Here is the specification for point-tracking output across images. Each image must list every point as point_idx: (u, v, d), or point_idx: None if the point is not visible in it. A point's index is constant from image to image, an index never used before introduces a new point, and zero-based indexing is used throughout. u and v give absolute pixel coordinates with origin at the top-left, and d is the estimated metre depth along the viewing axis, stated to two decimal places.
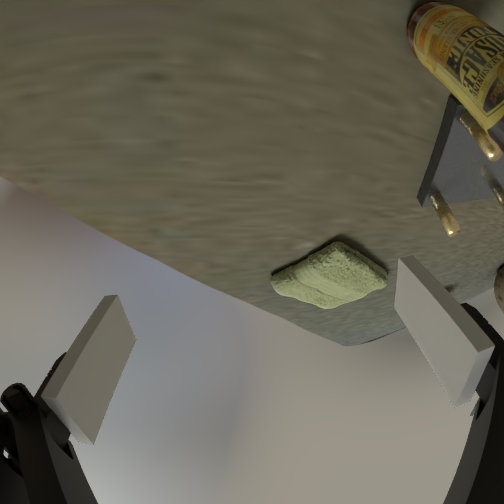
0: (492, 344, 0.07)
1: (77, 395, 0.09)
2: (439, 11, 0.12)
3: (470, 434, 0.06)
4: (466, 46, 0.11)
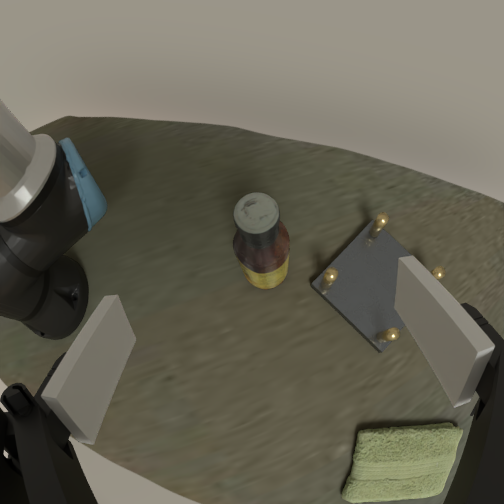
0: (492, 344, 0.07)
1: (77, 396, 0.09)
2: None
3: (470, 434, 0.06)
4: None
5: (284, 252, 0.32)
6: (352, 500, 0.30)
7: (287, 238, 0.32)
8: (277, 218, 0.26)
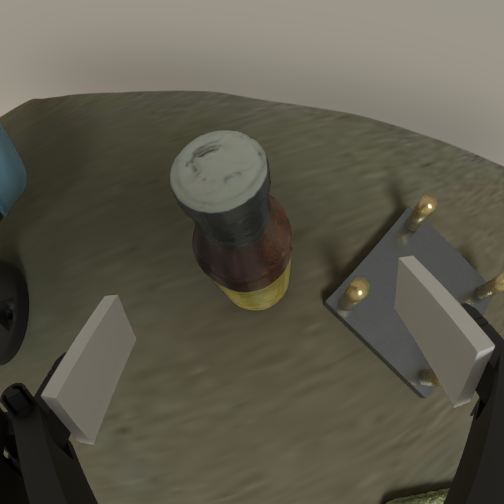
0: (492, 344, 0.07)
1: (77, 396, 0.09)
2: None
3: (470, 434, 0.06)
4: None
5: (282, 255, 0.17)
6: None
7: (287, 229, 0.18)
8: (263, 178, 0.12)
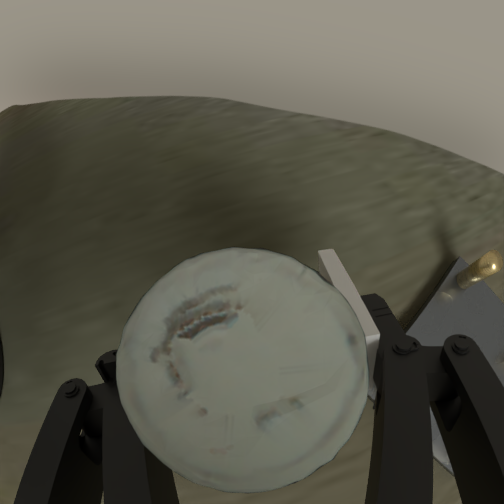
0: (377, 332, 0.09)
1: None
2: None
3: (374, 430, 0.08)
4: None
5: None
6: None
7: None
8: (359, 412, 0.04)
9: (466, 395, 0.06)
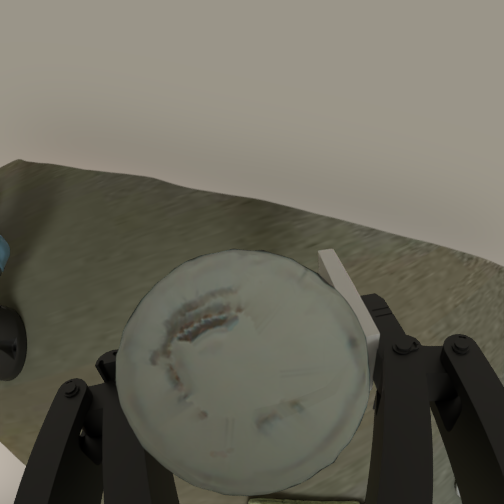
0: (377, 332, 0.09)
1: None
2: None
3: (374, 430, 0.08)
4: None
5: None
6: None
7: None
8: (360, 415, 0.04)
9: (466, 395, 0.06)
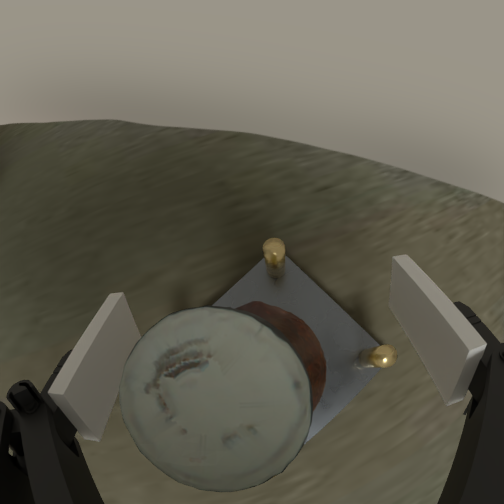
0: (484, 342, 0.07)
1: (84, 392, 0.09)
2: None
3: (463, 433, 0.06)
4: None
5: (313, 410, 0.11)
6: None
7: (323, 377, 0.11)
8: (302, 439, 0.05)
9: None
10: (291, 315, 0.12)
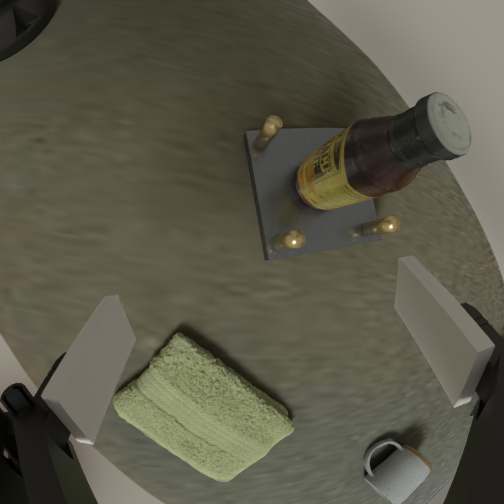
0: (492, 344, 0.07)
1: (77, 396, 0.09)
2: (308, 156, 0.30)
3: (470, 434, 0.06)
4: (320, 152, 0.26)
5: (402, 187, 0.21)
6: (120, 412, 0.27)
7: None
8: (466, 151, 0.14)
9: None
10: None
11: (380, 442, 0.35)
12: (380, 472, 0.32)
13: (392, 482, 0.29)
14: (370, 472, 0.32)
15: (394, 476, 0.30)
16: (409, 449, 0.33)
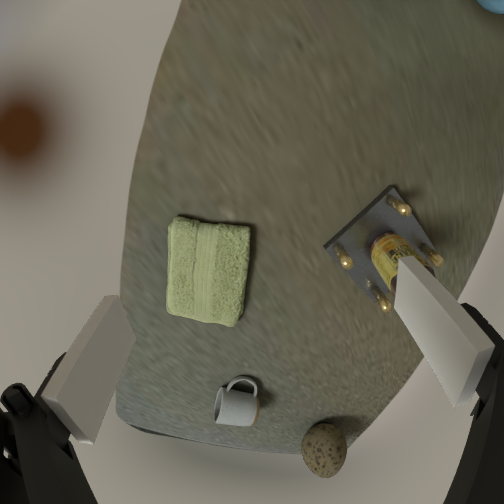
0: (492, 344, 0.07)
1: (77, 395, 0.09)
2: (398, 237, 0.42)
3: (470, 434, 0.06)
4: (402, 248, 0.38)
5: None
6: (173, 229, 0.43)
7: None
8: None
9: None
10: None
11: (251, 379, 0.58)
12: (233, 394, 0.56)
13: (231, 406, 0.54)
14: (229, 388, 0.56)
15: (236, 404, 0.54)
16: (258, 401, 0.57)
